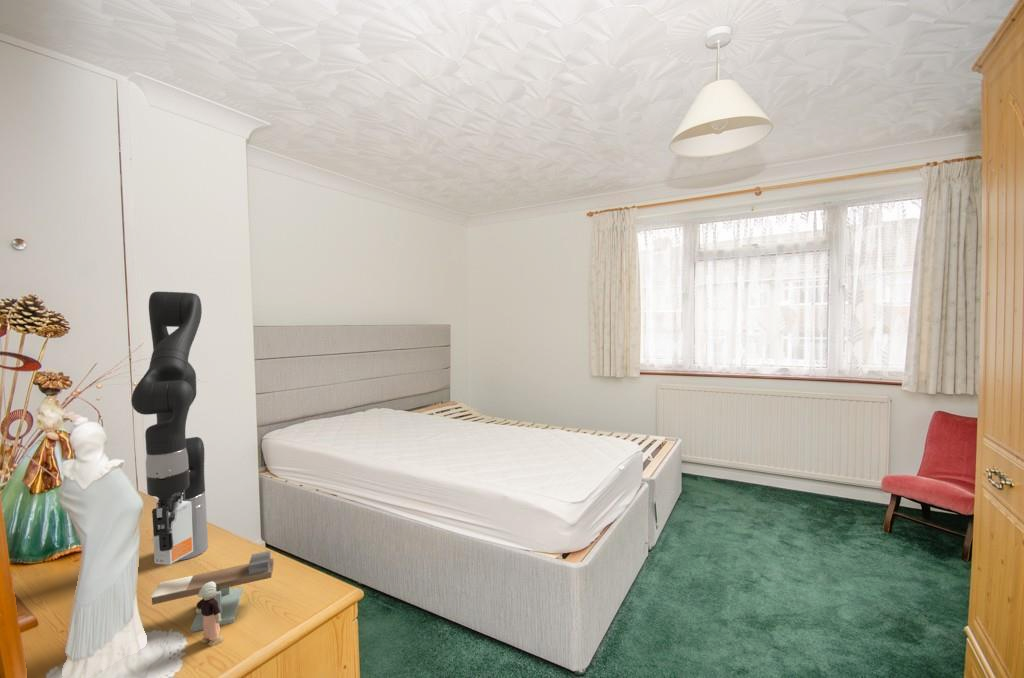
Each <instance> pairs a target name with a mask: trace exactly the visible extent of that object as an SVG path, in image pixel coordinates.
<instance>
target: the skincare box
mask: <svg viewBox="0 0 1024 678" xmlns="http://www.w3.org/2000/svg"><path fill="white" fill-rule="evenodd" d="M172 513H173V511H172V512H169V513H168V515H169V518H170V517H172ZM164 528H165V525H162V529H164ZM172 529H173V531H172V536H173V547H172V549H171V550H167V551H160V546H159V536H154V534H153V533H154V531H153V532H152V535H153V537H152V538H153V556H154V561H153V562H154V564H158V565H166V566H170V565H172V564H174V563H175V562H177V561H180V560H179V559H181V558H182V557H184V556H186V555H188V554H190V553H192V552H193V532H192V504H191V501H182V503H179V507H178V508H177V517H176V521H175V522H173V528H172Z"/></svg>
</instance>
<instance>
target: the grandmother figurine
mask: <svg viewBox="0 0 1024 678" xmlns="http://www.w3.org/2000/svg"><path fill="white" fill-rule="evenodd" d="M215 595H216V583H215V582H208V583H206V584H205V585H204V586H203V587H202V588H201V589H200V591H199V594H197V597H198V598H201V599H200V600H199V601H198V602H197V603H196V604H195V605H196V608H195V612H196V614H197V613H199V612H200V611H201V612H202V615H203V617H204V618H203V638H201V643H203V644H206V643H208V646H209V647H214V646H215V645H218V644H220V643H222V642H223V641H224V639H225V638H224V636H223V635H222V634H220V632H221V627H220V626H221V625H220V626H219V623H220V622H221V618H220V617H221V615H220V609H219V607H218V602H217V601H216V600H215V599H214V597H215Z"/></svg>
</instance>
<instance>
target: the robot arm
mask: <svg viewBox="0 0 1024 678" xmlns="http://www.w3.org/2000/svg"><path fill="white" fill-rule="evenodd" d="M202 309H203V308H202V302H201V298H200V296H199V294H196V293H194V292H185V291H184V292H183V291H182V292H180V291H179V292H178V291H176V292H175V291H153V292H152V293H151V294H150V296H149V300H148V315H149V316H148V317H149V323H150V325H149V326H150V332H151V340H152V348H153V349H152V353H151V357H150V362H149V366H148V369H147V370H146V372H145V374H144V375H143V377H141V379H140V380H139V381H138V382H137V385H135V388H134V389H133V392H132V395H131V400H130V401H131V406H132V408H133V409H134V411H136V412H137V413H138V414H140V415H146V416H147V415H148V416H149V415H156V423H155V424H152V425H150V426H149V427H147V428H146V429H145V434H144V435H145V436H144V437H145V450H146V455H145V456H146V457H145V475H146V479H145V480H146V493H147V495H148V496H149V497H156V498H158V501H157V502H156V504H155V508H153V509H151V514H152V530H153V531H154V533H153V532H152V535H153V534H154V536H159V546H160V551H167V550H171V549H172V547H173V536H172V531H173V529H172V528H173V522H175V521H176V517H177V508H178V507H179V503H182V501H191V504H192V532H193V552H192V553H190V554H188V555H186V556H184V557H182V558H181V559H179V560H178V561H183V560H184V561H185V560H188V559H191V558H194V557H196V556H199V555H201V554H202V553H204V552H206V551H207V550H208V548H209V540H208V536H209V535H208V520H207V500H206V498H207V497H206V485H205V484H206V481H205V444H204V441H203V439H202V438H201V437H198V436H193V437H187V438H186V425H187V418H188V416H189V415H188V414H189V411H190V407H191V405H192V404H193V402H194V401H195V399H196V397H197V374H196V371H195V369H194V367H193V365H192V364H190V363H191V362H189V356H190V352H191V349H192V348H191V347H192V346H193V342H194V340H195V338H196V335H197V332H198V331H199V330H198V329H199V327H200V323H201V319H202ZM167 327H169V328H171V327H173V328H175V327H176V328H177V329H175V330H174V331H172V332H171V333H170V334H169V331H168V328H167ZM172 511H173V513H172V517H170V518H169V515H168V513H169V512H172ZM162 525H165V528H164V529H162Z"/></svg>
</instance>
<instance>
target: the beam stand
mask: <svg viewBox="0 0 1024 678" xmlns="http://www.w3.org/2000/svg"><path fill="white" fill-rule="evenodd" d="M243 589H244V588H243V586H241V587H240V586H239V587H237V588H231V587H228V588H224V589H220V590H219V591H217V592H216V595H215V597H214V599H215V600H216V601H217V602H218V607H219V609H220V615H221V617H220V618H221V622H220V623H219V626H223V625H228V624H232V623H235V619H236V615H237V612H238V609H239V605H240V601H241V598H242V595H243V591H244V590H243ZM203 618H204V617H203V615H202V612H201V611H200V612H199V613H197V612H196V615H195V617H194V620H193V622H192V625H191V627H190V630H191V631H190V632H191V633H194V632H199V631H201V630H203ZM203 631H204V630H203Z"/></svg>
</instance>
